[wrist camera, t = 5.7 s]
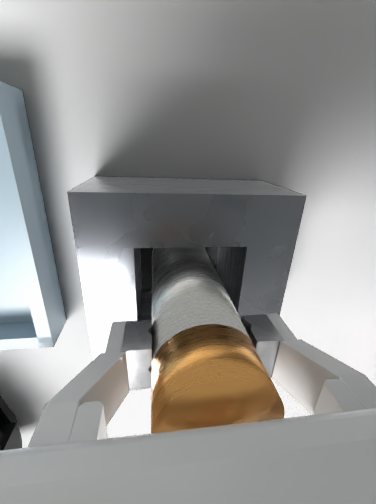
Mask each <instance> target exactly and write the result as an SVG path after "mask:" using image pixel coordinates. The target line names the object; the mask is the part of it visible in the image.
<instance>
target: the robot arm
mask: <svg viewBox="0 0 376 504" xmlns="http://www.w3.org/2000/svg"><path fill="white" fill-rule="evenodd" d="M240 319H241V321H242V323H243V325H244V327H245V329H246V331H247V333H248V335H249V337H250V339H251V341H252V343H253V345H254V347H255V349H256V351H257V353H258V355H259V357H260V359H261V361H262V363H263V365H264V367H265V369H266V371H267V373H268V375H269V377H270V378H272V380H273V381H275V382H276V383H277V384H278V385H279V386H280V387H281V388H282V389H283V390H285V391H286V392H287V393H288V394H289V395H290V396H291V397H292V398H294V399H295V400H296V401H297V402H298V403H299V404H300V405H301V406H302V407H304V408H305V409H306V410H307V411H308V412H309V413H310V414H311V415H310V416H301V417H292V418H284V419H275V420H266V421H257V422H248V423H240V424H231V425H222V426H213V427H204V428H195V429H187V430H178V431H169V432H160V433H151V434H143V435H134V436H125V437H116V438H108V436H107V429H106V426H107V424H108V423H109V421H110V420H111V418H112V417H113V415H114V414H115V412H116V411H117V409H118V408H119V406H120V405H121V403H122V402H123V400H124V399H125V397H126V396H127V394H128V393H129V390H137V389H145V388H151V365H152V320H136V321H113V322H112V324H111V328H110V333H109V337H108V341H107V346H106V350H105V353H101V354H99V355H98V356H97V357H96V358H95V359H94V360H93V361H92V362H91V363H90V364H89V365H88V366H87V367H85V368H84V369H83V370H82V371H81V372H80V373H79V374H78V375H77V376H76V377H75V378H74V379H73V380H71V381H70V382H69V383H68V384H67V385H66V386H65V387H64V388H63V389H62V390H61V391H60V392H59V393H57V394H56V395H55V396H54V397H53V398H52V399H51V400H50V401H49V402H48V403H47V404H46V405H45V407H44V409H43V412H42V414H41V417H40V419H39V421H38V424H37V426H36V429H35V431H34V433H33V436H32V438H31V441H30V443H29V445H28V448H20V449H11V450H2V451H0V504H376V387H375V385H374V384H373V383H372V382H371V381H370V380H369V379H368V378H367V377H366V376H365V375H364V374H362V373H360V372H358V371H357V370H355V369H353V368H351V367H349V366H348V365H346V364H344V363H342V362H340V361H339V360H337V359H335V358H333V357H331V356H330V355H328V354H326V353H324V352H322V351H321V350H319V349H317V348H315V347H313V346H312V345H310V344H308V343H306V342H304V341H303V340H297V339H296V337H295V336H294V335H293V333H292V332H291V331H290V329H289V328H288V327H287V325H286V324H285V323H284V321H283V320H282V319H281V317H280V316H279V315H278V314H277V313H266V314H256V315H241V316H240Z"/></svg>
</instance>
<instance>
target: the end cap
mask: <svg viewBox="0 0 376 504" xmlns="http://www.w3.org/2000/svg"><path fill="white" fill-rule="evenodd" d="M20 448H22V439H21V433H20V430H19V428H18V426H17V421H16V419H15V416H14V414H13V413H12V411H11V410H10V408H9V407H8V406H7V404H6V403H5V402H4V400H3V399H2V397H1V396H0V451H2V450H11V449H20Z"/></svg>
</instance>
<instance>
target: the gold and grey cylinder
mask: <svg viewBox="0 0 376 504" xmlns="http://www.w3.org/2000/svg"><path fill="white" fill-rule="evenodd" d="M275 419H284V406H283V403H282V401H281V398H280V396H279V394H278V392H277V390H276V388H275V386H274V384H273V383H272V381H271V379H270V377H269V375H268V373H267V371H266V369H265V367H264V365H263V363H262V361H261V359H260V357H259V355H258V353H257V351H256V349H255V347H254V345H253V343H252V341H251V339H250V337H249V335H248V333H247V331H246V329H245V327H244V325H243V323H242V321H241V319H240V317H239V315H238V313H237V311H236V309H235V307H234V305H233V303H232V301H231V299H230V297H229V295H228V293H227V291H226V289H225V287H224V285H223V283H222V281H221V279H220V277H219V275H218V273H217V271H216V269H215V267H214V265H213V263H212V261H211V259H210V257H209V255H208V253H207V251H206V249H205V247H183V248H154V249H153V252H152V365H151V433H160V432H169V431H178V430H187V429H195V428H204V427H213V426H222V425H231V424H240V423H248V422H257V421H266V420H275Z"/></svg>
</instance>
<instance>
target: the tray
mask: <svg viewBox="0 0 376 504" xmlns="http://www.w3.org/2000/svg"><path fill="white" fill-rule="evenodd" d="M65 322H66V316H65V311H64V306H63V301H62V296H61V290H60V285H59V280H58V275H57V269H56V264H55V259H54V254H53V249H52V243H51V238H50V233H49V228H48V222H47V217H46V212H45V207H44V202H43V196H42V191H41V186H40V181H39V176H38V170H37V165H36V160H35V155H34V149H33V144H32V139H31V134H30V129H29V123H28V118H27V113H26V108H25V102H24V97H23V92H22V90H21V89H18V88H16V87H13V86H11V85H8V84H6V83H4V82H1V81H0V350H10V349H26V348H42V347H54V345H55V343H56V341H57V339H58V337H59V335H60V333H61V331H62V329H63V326H64V324H65Z"/></svg>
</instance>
